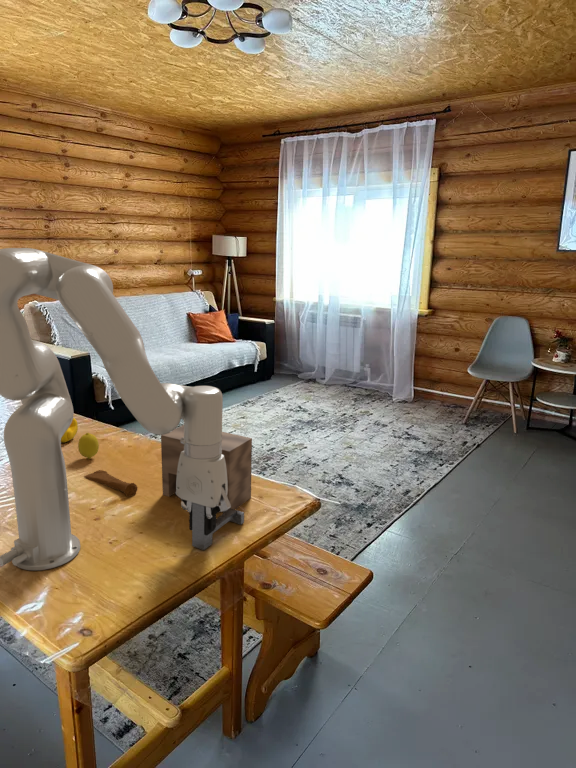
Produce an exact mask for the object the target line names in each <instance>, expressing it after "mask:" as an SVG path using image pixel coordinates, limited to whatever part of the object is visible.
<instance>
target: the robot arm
mask: <svg viewBox="0 0 576 768" xmlns="http://www.w3.org/2000/svg"><path fill="white" fill-rule="evenodd" d="M30 295H38V296H43V297H46V298H49V299H50V298H51V299H53V300H56V301H57V300H58V301H59V303H60V305H62V307H63V309H64V310H65V311H66V313H67V314H68V316H69V317H70V318H71V320H72V321H73V323H75V325H76V326H77V328H78V329H79V330H80V332H81V333H82V335H84V337H85V338H86V339H87V341H88V342H89V343H90V345H91V346H92V348H93V349H94V351H95V352H96V354H97V355H98V357H99V358H100V359H101V362H102V364H103V367H104V369H105V371H106V372H107V375H108V377H109V379H110V380H111V383H112V385H113V387H114V388H115V391H116V392H117V395H118V396H119V397H120V400H121V401H122V402H123V403H124V404H125V407H126V408H127V409H128V410H129V412H130V413H131V414H132V416H133V417H134V418H135V420H136V421H137V422H138V423H139V424H140V425H141V427H142V428H143V429H145V430H146V431H148V432H149V433H151V434H154V435H158V436H161V435H164V434H168V433H170V432H172V431H173V430H174V429H176V428H178V427H179V425H180V423H181V420H182V421H183V425H184V437H182V438H181V440H180V442H181V443H182V444H184V451H182V452H181V454H180V458H179V462H178V468H177V479H176V493H175V495H176V496H177V497H178V498H179V499H180V500H181V499H182V501H183V502H184V504H185V505H186V510H187V511H186V510H185V511H186V512H188V523H189V530H190V531H192V502H193V503H196V504H199V505H202V506H206V516H207V517H205V518H204V535H209V534H210V533H211V532H212V531H214V530H215V528H216V518H217V514H219V513H220V512H221V513H222V511H226V510H228V509H229V508H230V507H231V505H230V502H229V500H228V497H227V492H228V482H227V469H226V463H225V458H224V455H223V454H222V432H223V408H224V407H223V401H224V399H223V398H224V397H223V393H222V391H221V389H220V388H218V387H215V386H212V385H195V386H187V385H182V384H177V383H169V382H168V383H167V382H162V383H161V382H160V380H159V379H158V377H157V375H156V374H155V371H154V370H153V369H152V366H151V365H150V361H149V359H148V357H147V354H146V349H145V344H144V340H143V338H142V335H141V333H140V330H138V328H137V326H136V325H135V323H134V322H133V321H132V319H131V318H130V316H129V315H128V314H127V313H126V311H125V309H124V308H123V307H122V305H121V303H120V302H119V301H118V299H117V298H116V296H115V294H114V284H113V281H112V279H111V277H110V275H109V274H108V273H107V272H106V271H105V270H104V269H102V267H100V266H97V265H93V264H91V263H87V262H83V261H79V260H75V259H72V258H69V257H66V256H65V257H64V256H61V255H58V254H54V253H51V252H48V251H44V250H40V249H36V248H32V247H6V248H0V396H1V397H2V398H4V399H7V400H9V401H21V406H19V407H18V408H16V410H14V412H13V413H12V414H11V415H9V418H8V419H7V421H6V423H5V425H4V429H3V443H4V447H5V451H6V453H7V456H8V461H9V464H10V465H9V466H10V470H11V478H12V486H13V487H12V488H13V495H14V503H15V512H16V521H17V531H18V538H16V539H15V540H14V541H13V543H14V544H13V545H14V546H12V547H11V548H10V550H9V551H8V552H6V551H5V552H4V553H3V554H1V555H0V567H3V566H5V565H7V564H9V563H11V562H12V563H11V564H12V565H13V566H15V567H17V568H19V569H22V570H26V571H33V572H34V571H45V570H50V569H54V568H58V567H60V566H62V565H64V564H66V563H68V562H70V561H72V560H73V559H74V558H75V557H76V556H77V555H78V554H79V553H80V550H81V541H80V539H79V538H78V536H76V535H75V534H72V528H71V527H72V526H71V514H70V502H69V491H68V490H69V487H68V478H67V469H66V461H65V457H64V454H63V450H62V442H61V437H62V436H63V435H64V433H65V432H66V431H67V429H68V428H69V426H70V425H71V423H72V420H73V418H74V414H75V413H74V406H73V403H72V399H71V395H70V393H69V389H68V386H67V383H66V380H65V376H64V373H63V370H62V367H61V364H60V361H59V359H58V358H57V357H58V356H57V355H56V354H55V352H54V351H53V350H52V349H51V347H49V346H48V345H46V344H44V343H42V342H40V341H36V340H33V339H32V336H31V334H30V330H29V326H28V323H27V321H26V319H25V317H24V315H23V313H22V311H21V310H20V307H19V305H18V303H19V302H18V301H19V299H21V298H23V297H25V296H30ZM212 508H213V510H212Z"/></svg>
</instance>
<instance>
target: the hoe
mask: <svg viewBox="0 0 576 768" xmlns="http://www.w3.org/2000/svg"><path fill="white" fill-rule="evenodd" d="M212 510H213V508H212ZM205 517H207V516H206V506H202V505H199V504H196V503H193V502H192V530H191V531H192V532H191V535H192V537H191V539H192V540H191V541H192V543H191V546H192V547H194V548H197V549H199V550H202V551H205V550H206V549H207V548H209V547H210V546H212V545H213V534H215V532H217V531H219V529H221V528H222V527H223V526H225V525H226V524H227V523H228V522H231V523H236V524H237V525H242V524H244V523H245V512H244V511H241V510H238V509H236V510H234V509H231V508H229V509H228V510H226V511H223V513H221V514H220V515H219V516H218V517H216V528H215V530H214V531H212V532H211V533H210V534H209V535H204V518H205Z"/></svg>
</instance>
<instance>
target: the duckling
mask: <svg viewBox="0 0 576 768" xmlns="http://www.w3.org/2000/svg"><path fill="white" fill-rule="evenodd" d="M78 428H79V426H78V421H77V419H76V418H75V417H73V420H72V423H71V425H70V426H69V428H68V429H67V431H66V432H65V433H64V435H63V436H62V437H61V443H68V442H69V441H71V440H73V438H75V436H77V434H78V432H79V431H78V430H79V429H78Z"/></svg>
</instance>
